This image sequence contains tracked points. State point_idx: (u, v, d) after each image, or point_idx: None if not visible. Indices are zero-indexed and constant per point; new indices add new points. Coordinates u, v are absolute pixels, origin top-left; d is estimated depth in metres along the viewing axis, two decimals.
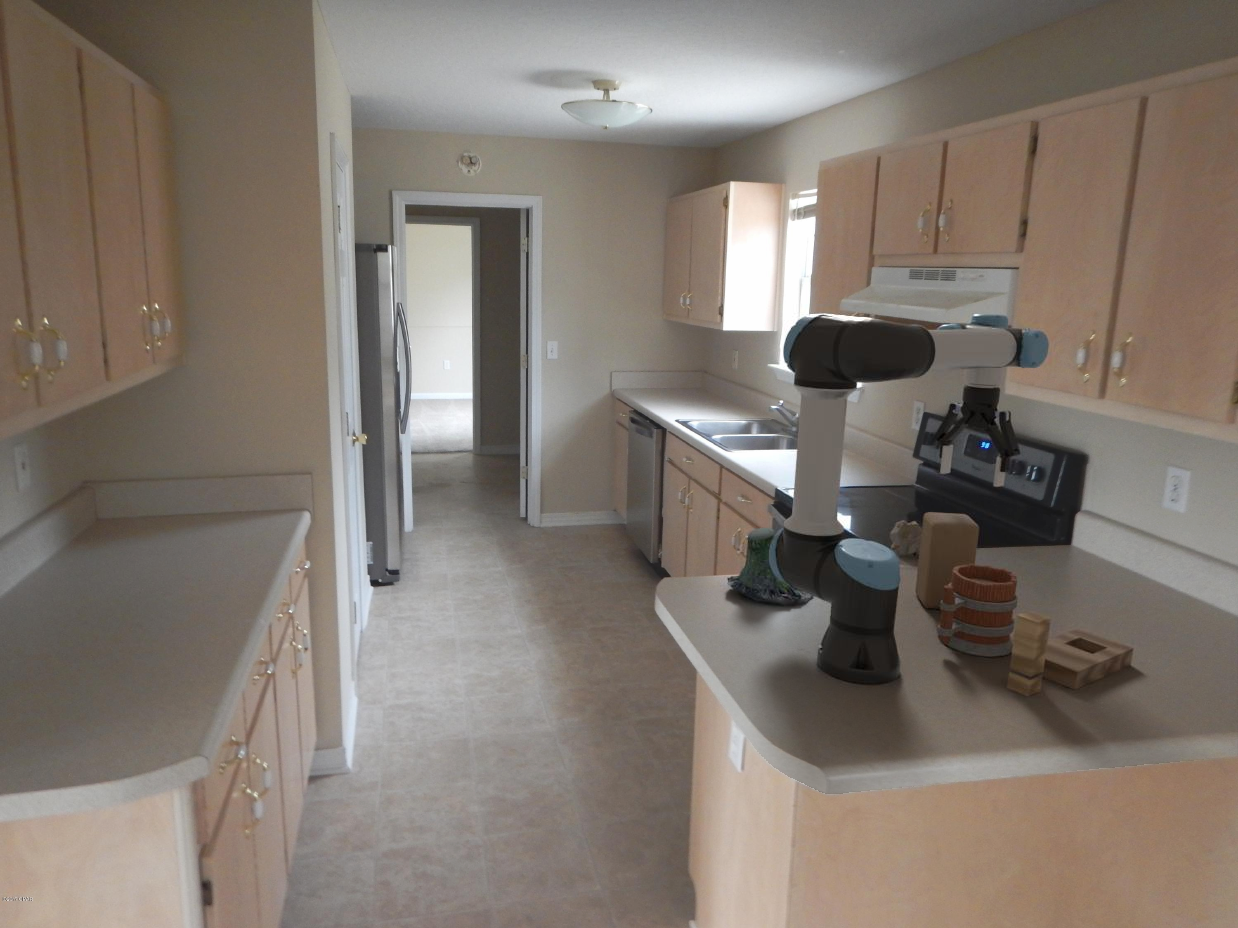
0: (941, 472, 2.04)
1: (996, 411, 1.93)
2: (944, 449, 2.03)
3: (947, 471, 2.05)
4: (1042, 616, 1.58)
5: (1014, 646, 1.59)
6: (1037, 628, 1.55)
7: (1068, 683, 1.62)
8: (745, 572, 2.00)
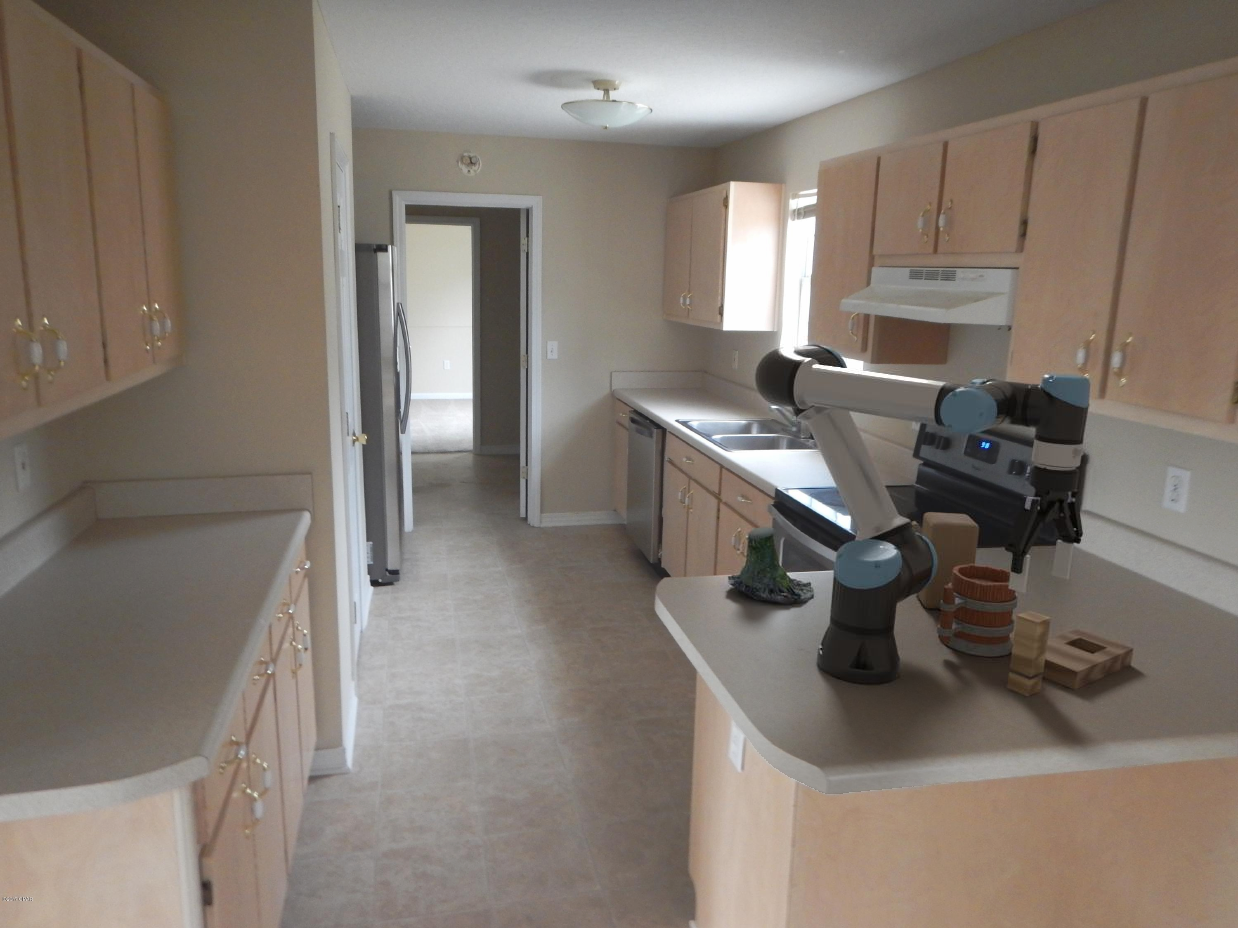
0: None
1: (1037, 497, 1.50)
2: None
3: (1061, 575, 1.59)
4: (1042, 616, 1.58)
5: (1014, 646, 1.59)
6: (1037, 628, 1.55)
7: (1068, 683, 1.62)
8: (745, 571, 2.01)
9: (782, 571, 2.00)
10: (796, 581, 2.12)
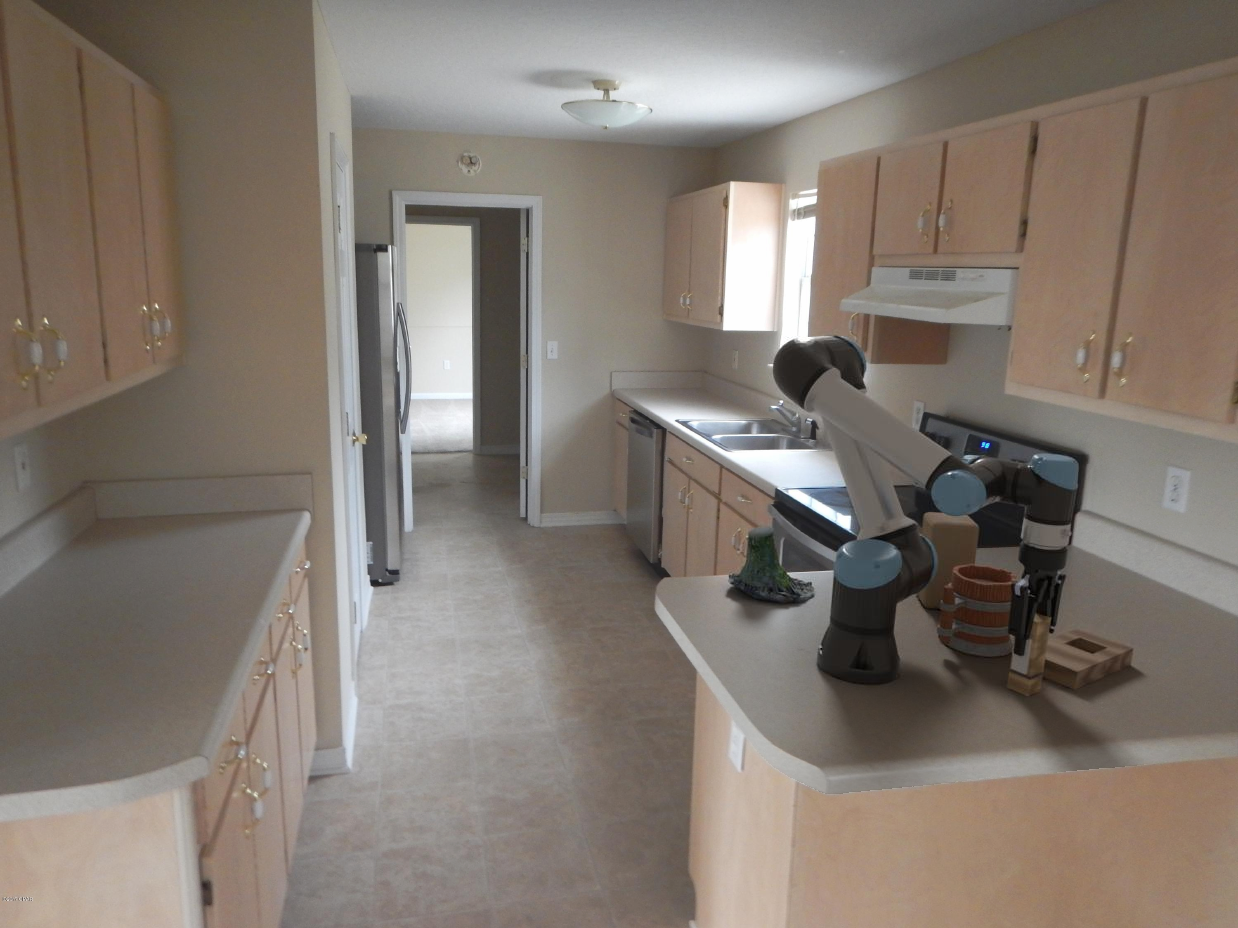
0: None
1: (1025, 579, 1.53)
2: None
3: None
4: (1042, 616, 1.58)
5: None
6: (1037, 628, 1.55)
7: (1068, 683, 1.62)
8: (745, 569, 2.02)
9: (782, 570, 2.01)
10: (797, 580, 2.12)
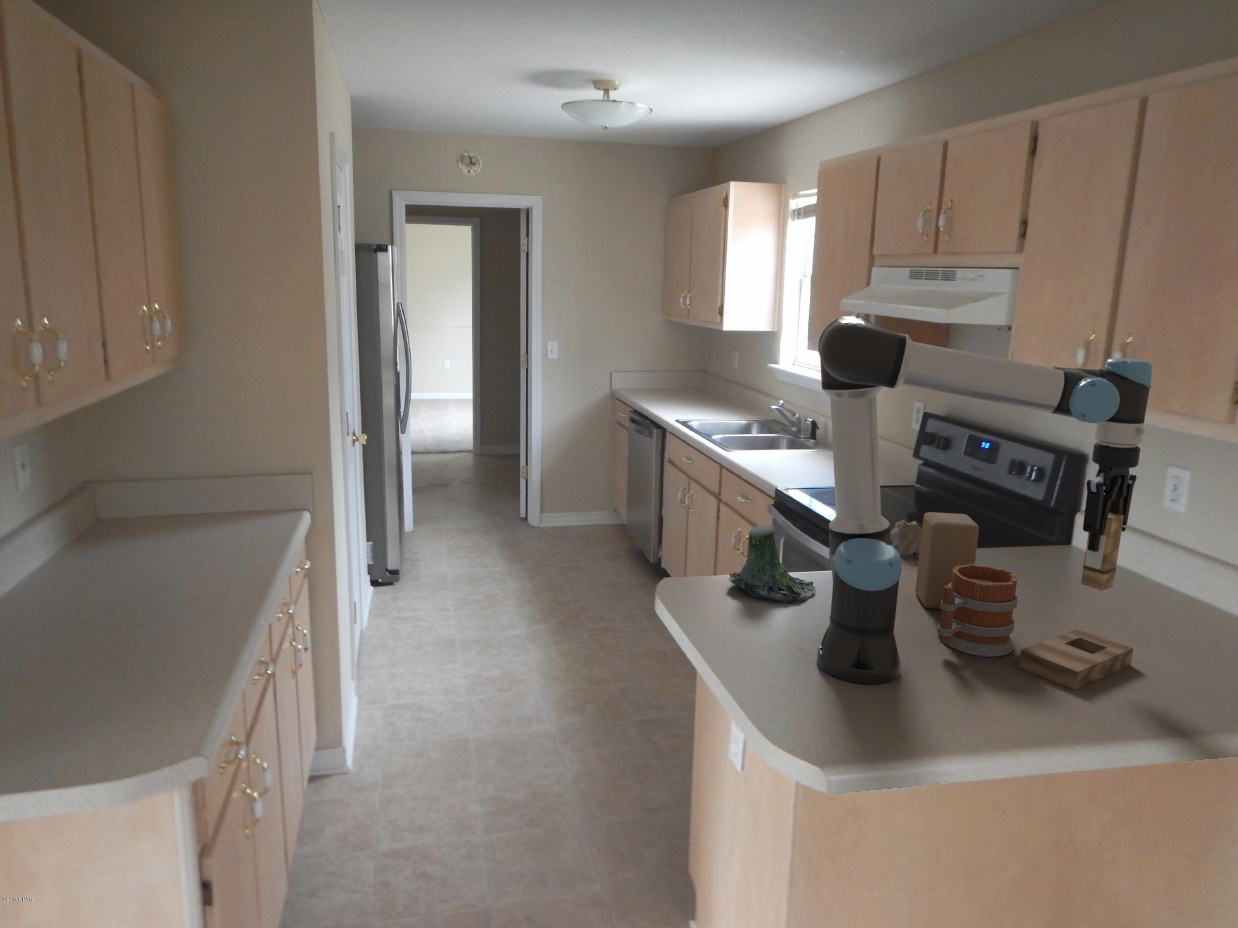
0: None
1: (1100, 476, 1.62)
2: None
3: None
4: (1115, 514, 1.66)
5: None
6: (1112, 524, 1.64)
7: (1068, 683, 1.62)
8: (745, 568, 2.02)
9: (782, 569, 2.01)
10: (799, 580, 2.13)
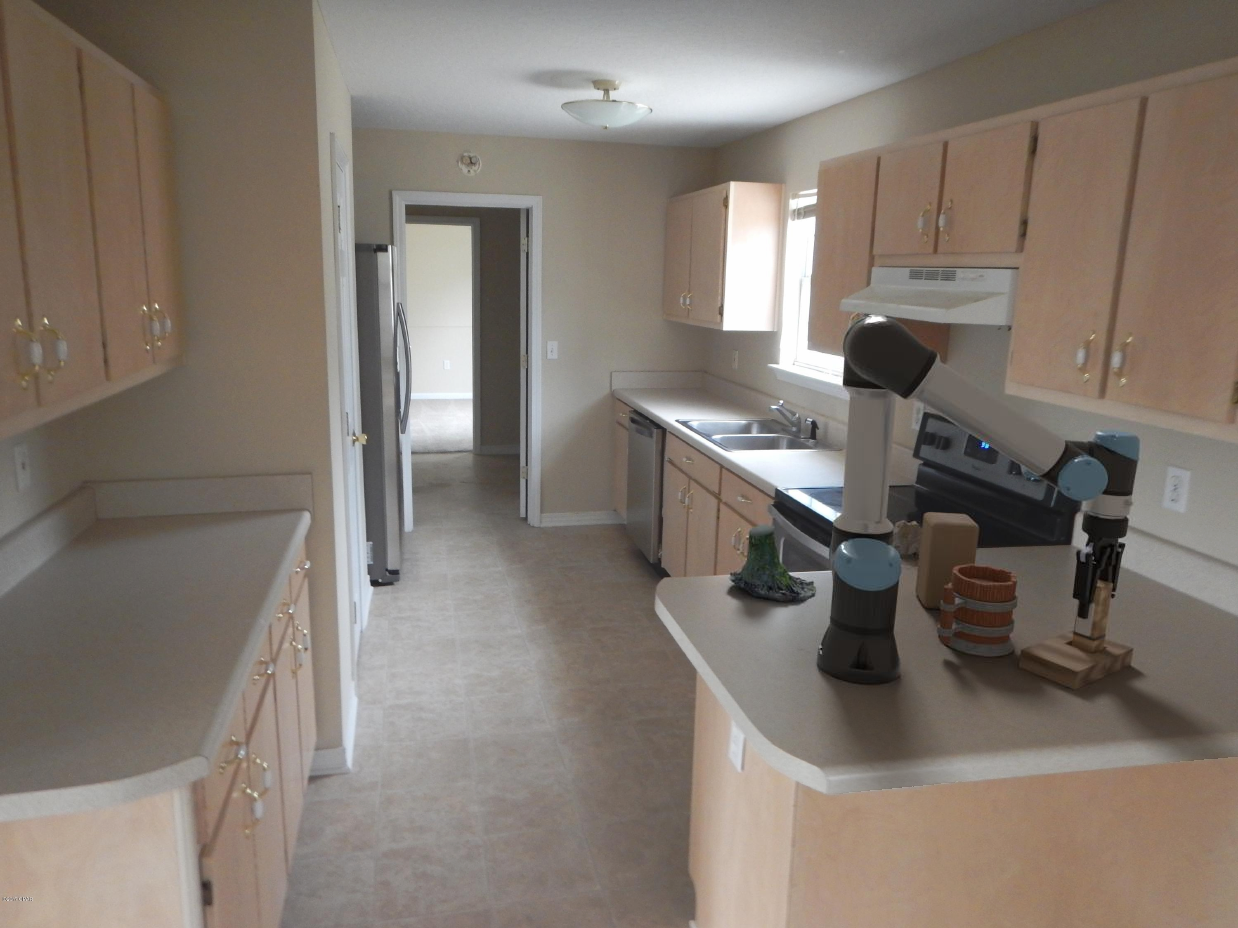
0: None
1: (1090, 546, 1.65)
2: None
3: None
4: (1104, 582, 1.69)
5: None
6: (1101, 593, 1.66)
7: (1068, 683, 1.62)
8: (745, 567, 2.03)
9: (782, 569, 2.02)
10: (800, 580, 2.13)
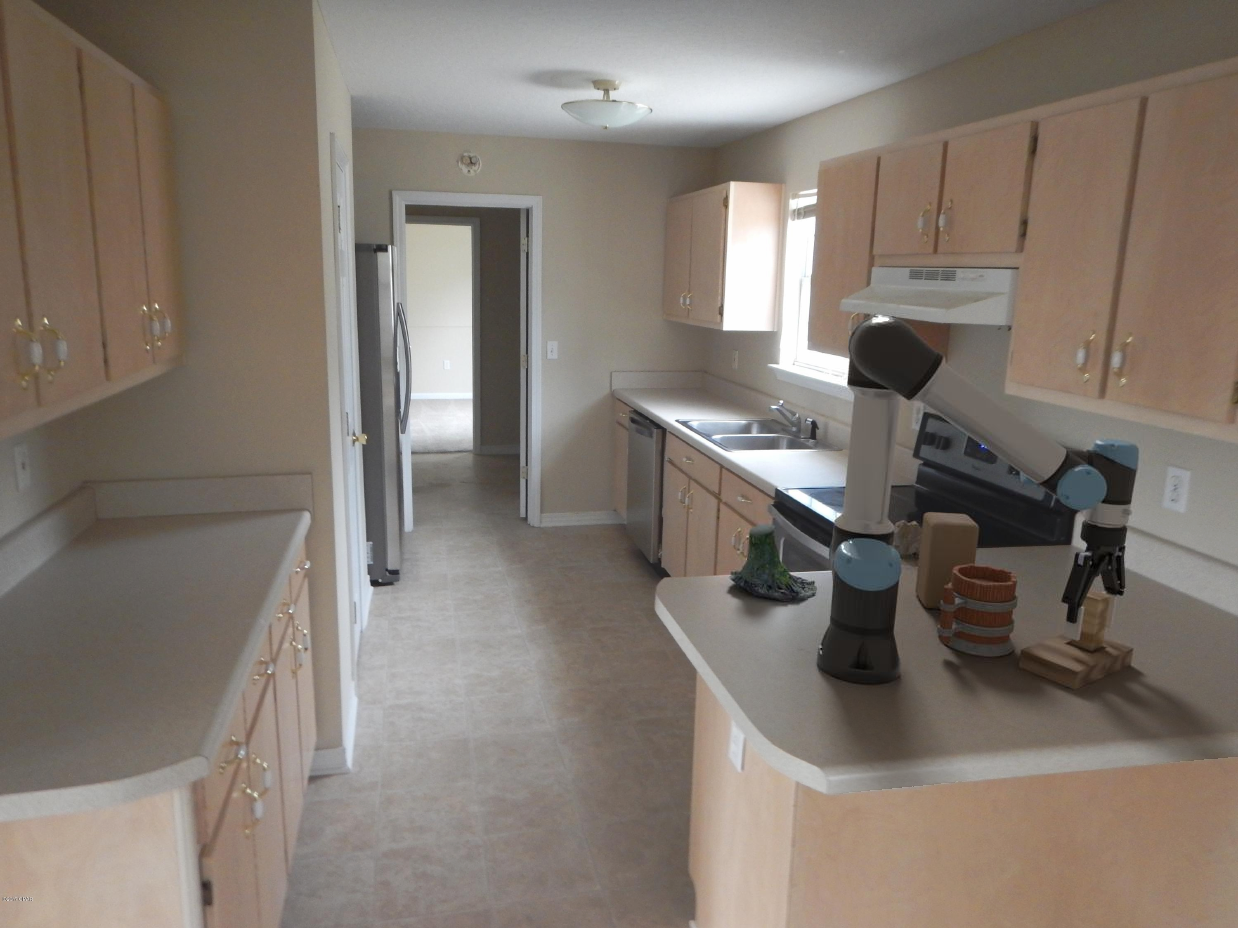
0: None
1: (1089, 552, 1.65)
2: None
3: None
4: (1102, 594, 1.70)
5: None
6: (1098, 605, 1.67)
7: (1068, 683, 1.62)
8: (745, 566, 2.04)
9: (782, 568, 2.02)
10: (801, 579, 2.13)
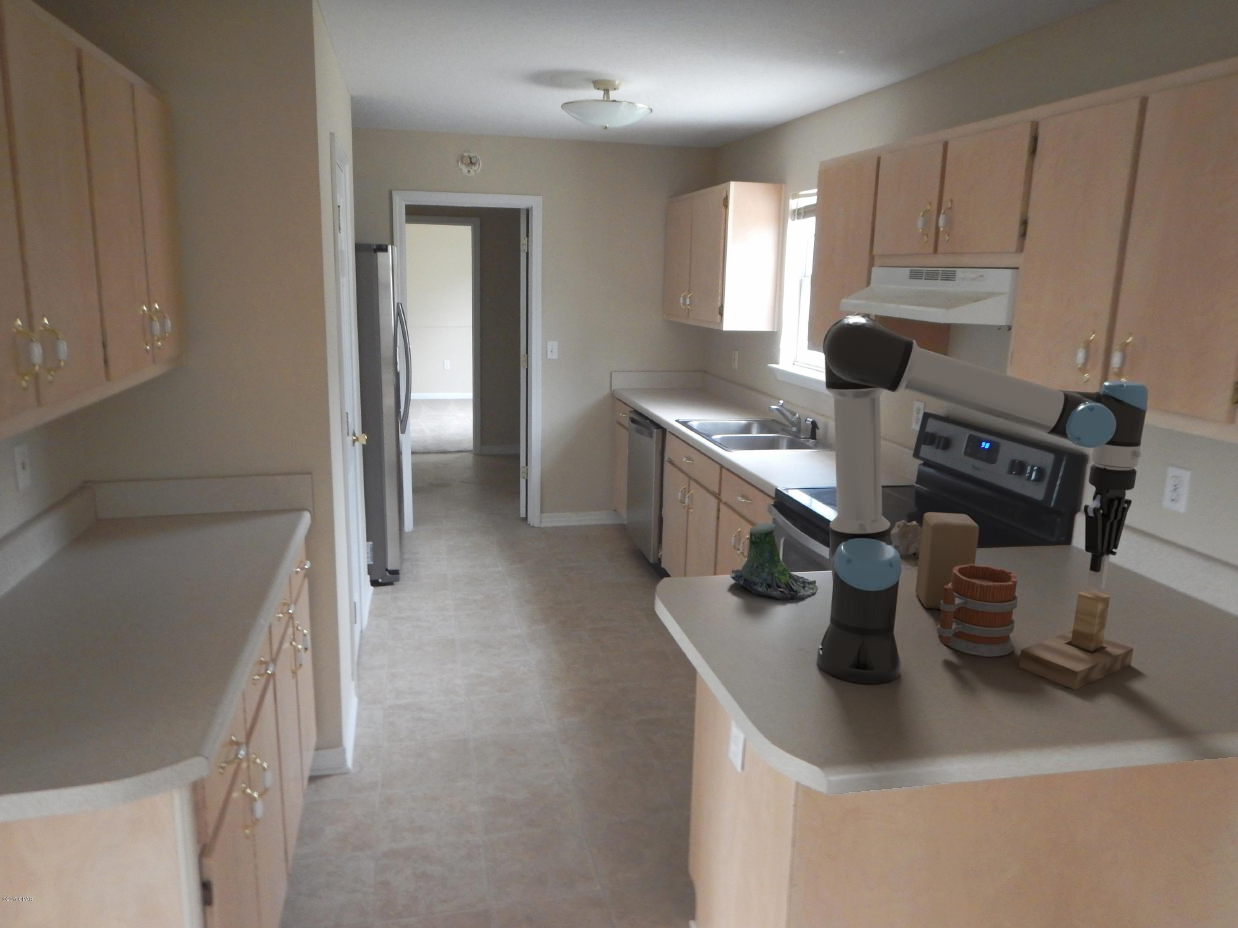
0: None
1: (1097, 500, 1.63)
2: None
3: None
4: (1102, 594, 1.69)
5: (1075, 622, 1.71)
6: (1098, 605, 1.67)
7: (1068, 683, 1.62)
8: (745, 565, 2.05)
9: (782, 567, 2.03)
10: (803, 579, 2.13)
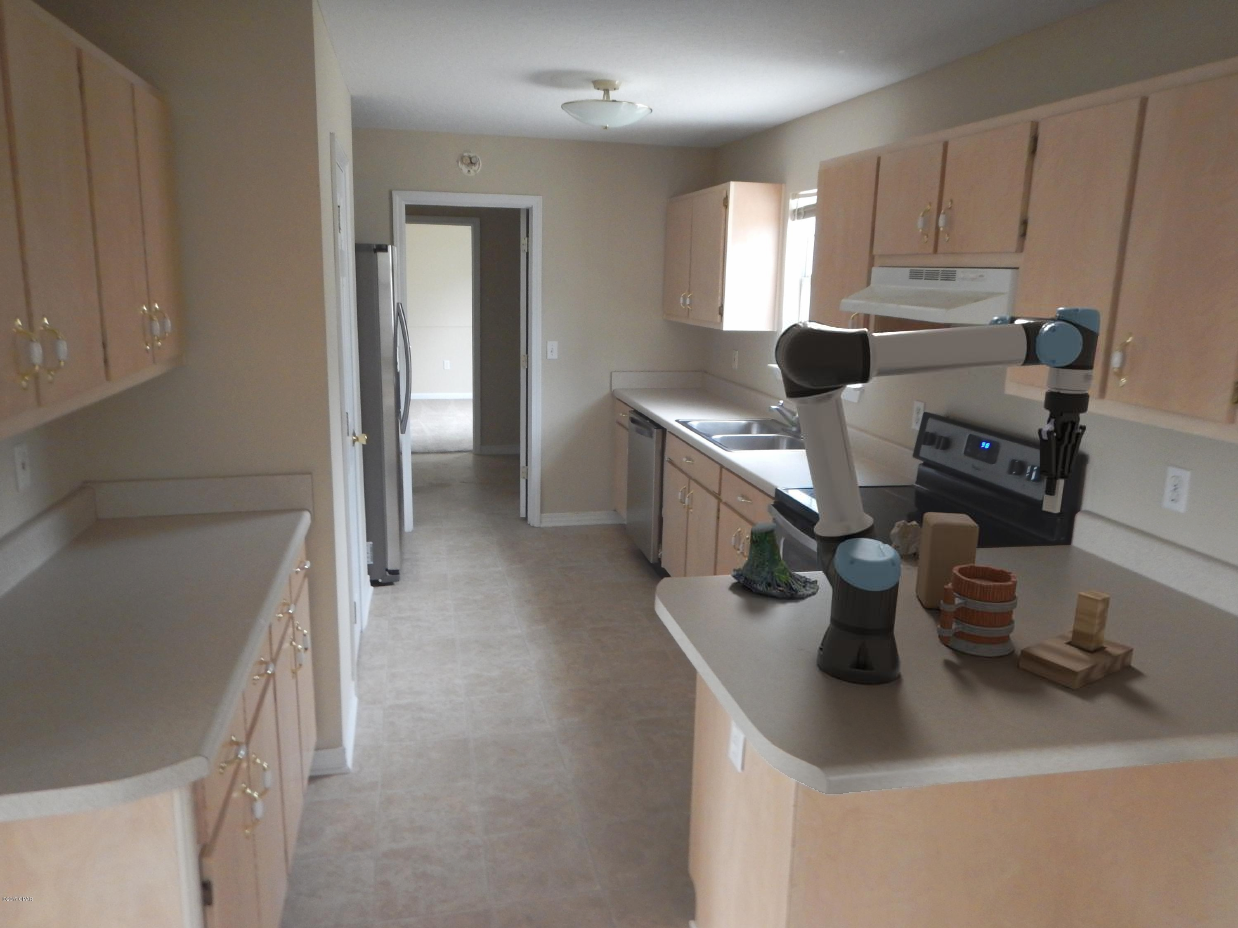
0: None
1: (1051, 423, 1.67)
2: None
3: None
4: (1102, 594, 1.69)
5: (1075, 622, 1.71)
6: (1098, 605, 1.67)
7: (1068, 683, 1.62)
8: (746, 563, 2.06)
9: (782, 566, 2.03)
10: (805, 578, 2.14)
